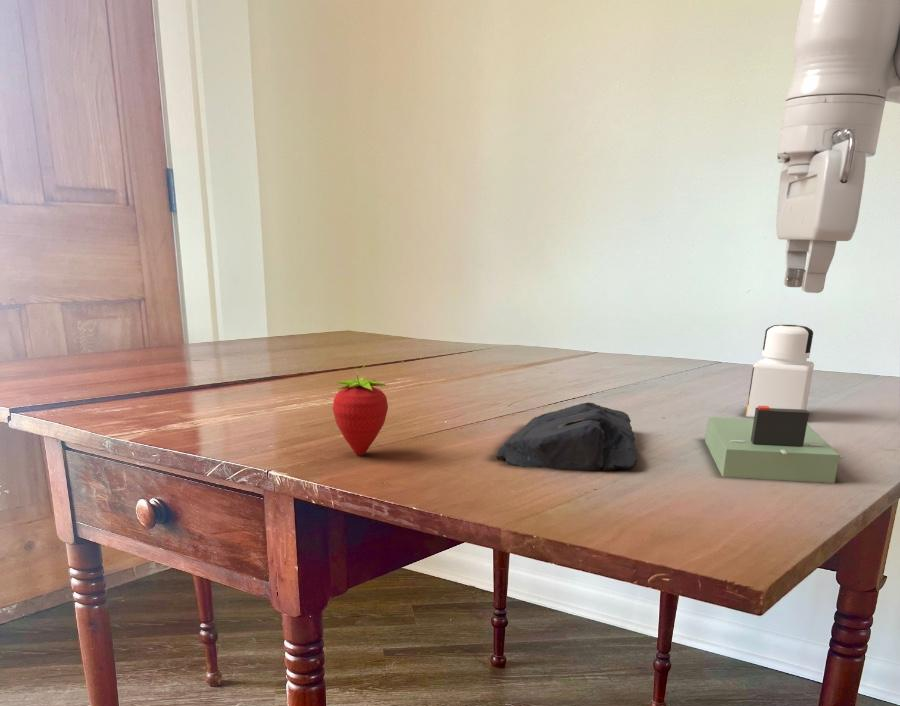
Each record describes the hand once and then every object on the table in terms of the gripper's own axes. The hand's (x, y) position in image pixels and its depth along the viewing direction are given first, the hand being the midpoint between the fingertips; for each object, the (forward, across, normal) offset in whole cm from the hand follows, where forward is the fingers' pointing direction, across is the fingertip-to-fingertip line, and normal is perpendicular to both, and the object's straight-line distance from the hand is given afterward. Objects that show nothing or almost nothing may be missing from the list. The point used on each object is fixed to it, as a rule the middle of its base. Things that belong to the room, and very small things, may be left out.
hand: (801, 289), depth 88 cm
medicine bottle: (+18, +28, -5) cm, 34 cm away
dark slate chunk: (+18, +2, +22) cm, 29 cm away
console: (+18, +1, +1) cm, 18 cm away
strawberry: (+19, -7, +45) cm, 49 cm away
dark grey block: (+15, -4, +1) cm, 16 cm away
